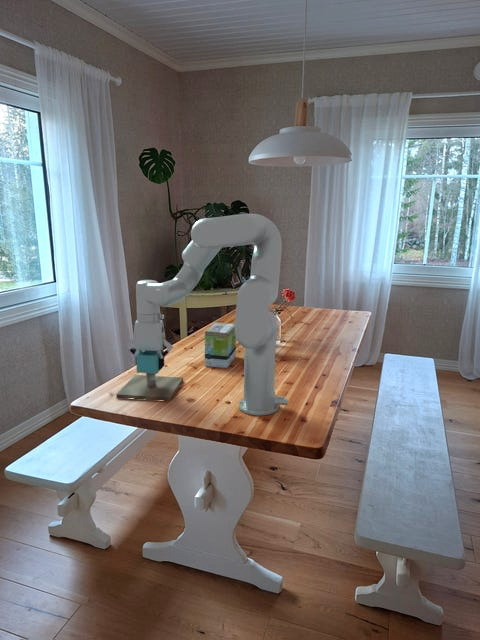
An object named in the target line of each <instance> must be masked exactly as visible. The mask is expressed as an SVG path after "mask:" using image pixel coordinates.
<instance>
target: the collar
mask: <svg viewBox="0 0 480 640" xmlns="http://www.w3.org/2000/svg"><path fill="white" fill-rule="evenodd" d="M136 364H137V365H136ZM135 365H136V373H137V374H139V373H140V374H146V373H151V374H155V375H157V374H158V373H160V371H161V370H159V355H158V353H157V351H142V350H141V352H140V353H139V354H137V355H136V361H135Z"/></svg>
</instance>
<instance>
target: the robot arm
mask: <svg viewBox="0 0 480 640" xmlns="http://www.w3.org/2000/svg"><path fill="white" fill-rule="evenodd" d="M190 237H191V241H190V242H189V243H188V245H187V246H186V247H185V249H184V250H183V251H182V253H181V258H182V260H183V265H182V267H181V268H180V270H179V272H178V273H177V274H176V275H175V277H174V278H173V279H170V280H166V281H164V282H161V283H160V282H158V281H157V280H153V279H142V280H138V281H137V282H136V285H135V292H136V293H135V298H136V321H135V322H134V328H133V338H132V339H131V340H130V341H128V342H127V344H125V346H126V348H127V349H128V350H129V351H130V353H131V354H132V355H133V356H134V358H135V362H136V355H137V354H139V353H140V352H141V351H157V353H158V355H159V370H160V371H161V370H162V369H164V367H165V357H166V356H167V355H168V354H169V353H170V352H171V351H172V349H173V348H174V346H173V345H172V344H171V343H170V342H168V341H167V340H166V333H165V332H166V331H165V327H164V322H163V320H164V319H165V314H162V313H161V309H160V307H169V306H172V305H174V304H176V303H179V302H181V301H183V300H185V299H186V298H187V297H189V295H190V294H191V292H192V291H193V290H194V289H195V287H196V286H197V285H198V284H199V281H200V280H201V278H202V276H203V274H204V271H205V269H206V268H207V267H208V266H209V265H210V263H211V261H212V260H213V259H214V258H215V257H216V255H217V254H218V253H219V252H220V250H222V248H228V247H229V248H230V247H238V246H239V247H240V246H247V245H253V253H252V258H251V265H250V276H249V279H247V280H245V281H244V282H243V283H242V285H240V287H239V289H238V291H237V296H236V304H235V306H236V308H235V319H234V324H235V336H236V342H237V343H238V344H239V345H240V346H242V348H244V356H243V357H244V358H243V359H244V361H243V362H244V365H243V367H244V369H243V374H244V375H243V398H242V399H240V400H239V402H238V408H239V410H240V411H241V412H243V413H245V414H247V415H251V416H267V415H272V414H275V412H277V411H278V410H279V405H281V406H288V405H289V399H288V398H285V396H282V395H281V396H278V395H276V390H275V371H276V369H275V368H276V350H277V347H276V346H277V341H278V340H277V339H278V331H279V323H278V319H277V317H276V316H275V313H273V312H271V311H270V306H272V304H274V303H275V302H276V300H277V298H278V297H279V285H280V274H281V273H280V272H281V263H282V262H281V261H282V260H281V259H282V252H283V250H282V249H283V244H282V237H281V233H280V231H279V229H278V227H277V226H276V224H275V223H274V222H273V221H272V220H271V219H269V218H267V216H264V215H262V214H259V213H240V214H239V213H238V214H232V215H226V216H224V215H223V216H218V217H204V218H200V219H199V220H197V221H196V222H195V223H194V224H193V225H192V227H191V230H190ZM162 319H163V320H162ZM164 348H166V349H165V350H164ZM135 365H136V366H137V364H136V363H135Z"/></svg>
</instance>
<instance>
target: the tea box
mask: <svg viewBox="0 0 480 640" xmlns="http://www.w3.org/2000/svg"><path fill="white" fill-rule="evenodd" d="M236 353H237V339H236V336H235V323H224V322H223V323H221V322H214V323H212V325H210V326H209V327H208V328H207V329H206V330H204V366H205V367H209V368H210V367H211V368H212V367H213V368H221V369H224V368H225V369H227V368H228V367H229V366H230V365H231V363H232V362H233V361H234V359H235V358H236Z"/></svg>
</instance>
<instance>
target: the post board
mask: <svg viewBox="0 0 480 640" xmlns="http://www.w3.org/2000/svg"><path fill="white" fill-rule="evenodd" d="M183 382H184V377H180V376H179V377H178V376H177V377H176V376H163V375H160V376H159V375H156V374H151V373H145V375H141V374H135V375H133V376H132V377H131V378H130V380H128V381H127V382H126V384H125V385H124V386H122V387H121V389H120V390H119V391H118V392H117V393H116V394H115V396H116V399H117V398H134V399H146V400H145V401H149V400H164V401H163V402H165V401H170V400H172V399H173V398H174V396H175V394H176V393H177V391H178V390H179V388H180V387H181V386H182V384H183ZM181 383H182V384H181ZM179 386H180V387H179ZM177 389H178V390H177ZM175 392H176V393H175ZM173 395H174V396H173ZM172 397H173V398H172ZM171 398H172V399H171ZM170 402H171V401H170Z"/></svg>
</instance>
